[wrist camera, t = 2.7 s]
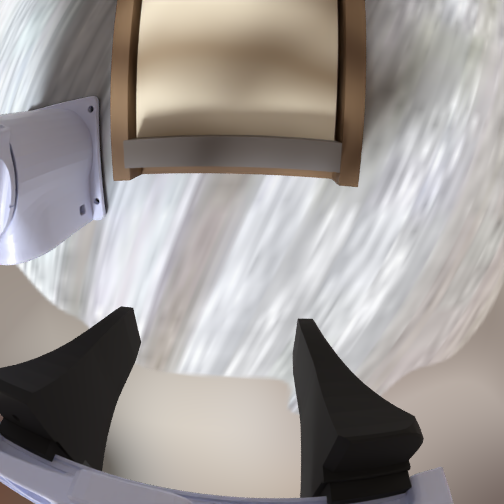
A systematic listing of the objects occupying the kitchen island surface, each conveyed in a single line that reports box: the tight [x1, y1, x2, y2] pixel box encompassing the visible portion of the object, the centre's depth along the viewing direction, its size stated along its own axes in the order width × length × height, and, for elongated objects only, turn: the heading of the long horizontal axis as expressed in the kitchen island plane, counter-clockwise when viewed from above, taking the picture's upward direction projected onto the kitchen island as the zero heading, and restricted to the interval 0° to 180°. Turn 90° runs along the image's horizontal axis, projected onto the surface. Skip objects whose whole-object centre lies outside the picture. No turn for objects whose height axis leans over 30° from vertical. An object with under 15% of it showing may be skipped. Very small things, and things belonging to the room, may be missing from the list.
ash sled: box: [123, 0, 342, 173], centre depth 15 cm, size 12×12×3 cm
